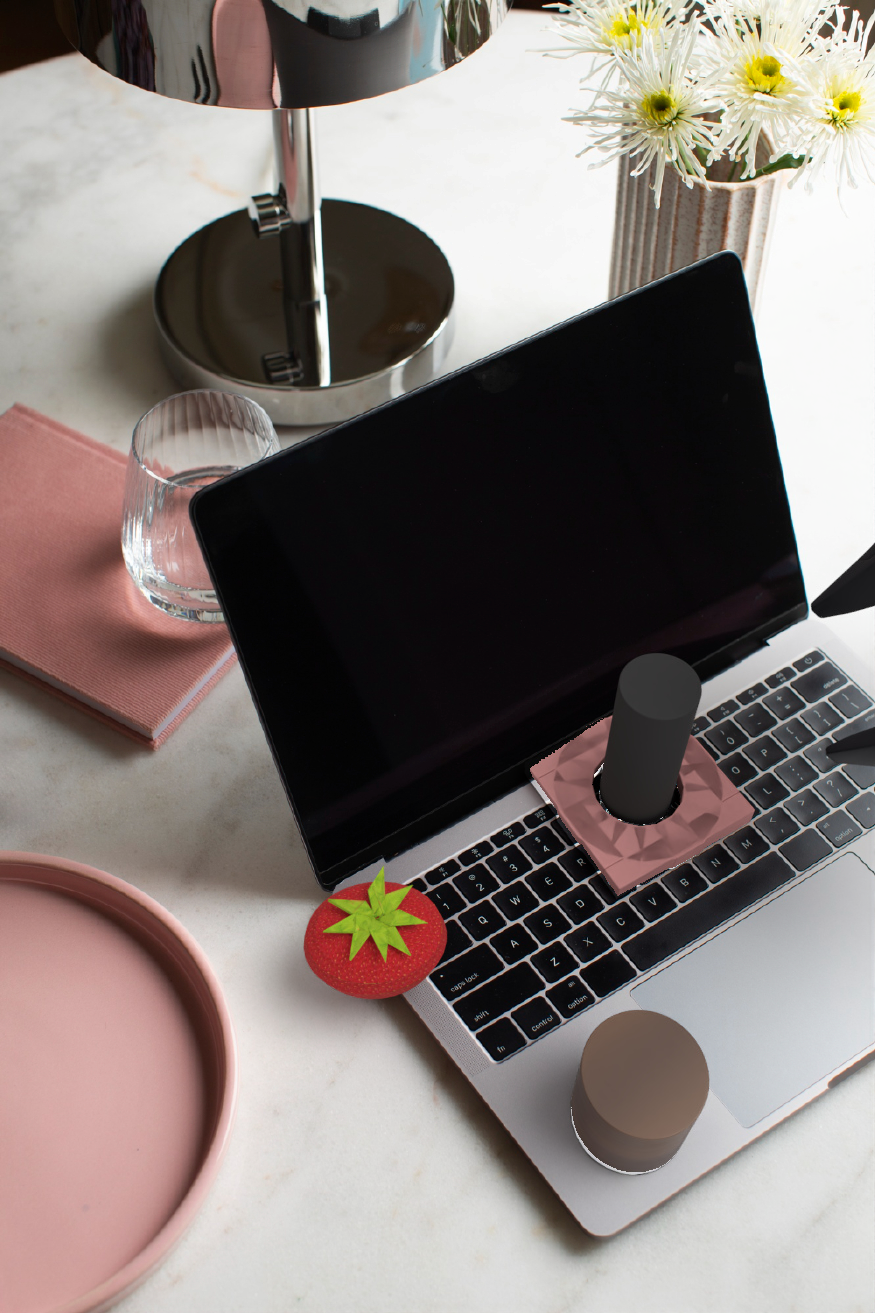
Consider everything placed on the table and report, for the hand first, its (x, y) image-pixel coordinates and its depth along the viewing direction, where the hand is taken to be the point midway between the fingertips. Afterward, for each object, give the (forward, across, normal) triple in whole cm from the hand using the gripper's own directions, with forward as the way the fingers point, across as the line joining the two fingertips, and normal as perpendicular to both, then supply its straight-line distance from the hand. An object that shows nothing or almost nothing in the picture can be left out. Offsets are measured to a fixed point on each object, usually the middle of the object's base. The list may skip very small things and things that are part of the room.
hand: (821, 680), depth 58 cm
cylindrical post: (+15, 0, +4) cm, 16 cm away
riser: (+15, +19, +4) cm, 25 cm away
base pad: (+15, 0, +4) cm, 16 cm away
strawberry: (+25, +13, -6) cm, 29 cm away
